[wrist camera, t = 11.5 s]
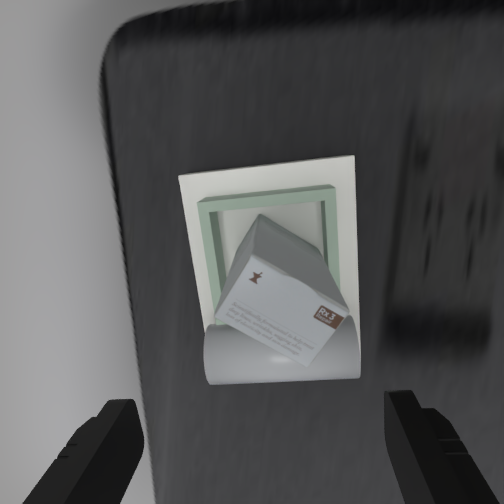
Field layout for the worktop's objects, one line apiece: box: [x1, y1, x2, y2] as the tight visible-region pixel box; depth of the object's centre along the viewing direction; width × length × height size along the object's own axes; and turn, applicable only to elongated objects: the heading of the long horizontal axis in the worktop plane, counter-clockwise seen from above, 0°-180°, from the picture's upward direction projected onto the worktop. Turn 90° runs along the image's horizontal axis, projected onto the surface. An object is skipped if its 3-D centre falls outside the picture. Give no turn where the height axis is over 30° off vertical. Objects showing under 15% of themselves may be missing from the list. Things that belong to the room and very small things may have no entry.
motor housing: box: [178, 155, 361, 385], centre depth 29 cm, size 14×18×8 cm
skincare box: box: [214, 214, 350, 367], centre depth 23 cm, size 6×4×12 cm
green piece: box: [197, 184, 341, 325], centre depth 28 cm, size 10×10×3 cm
